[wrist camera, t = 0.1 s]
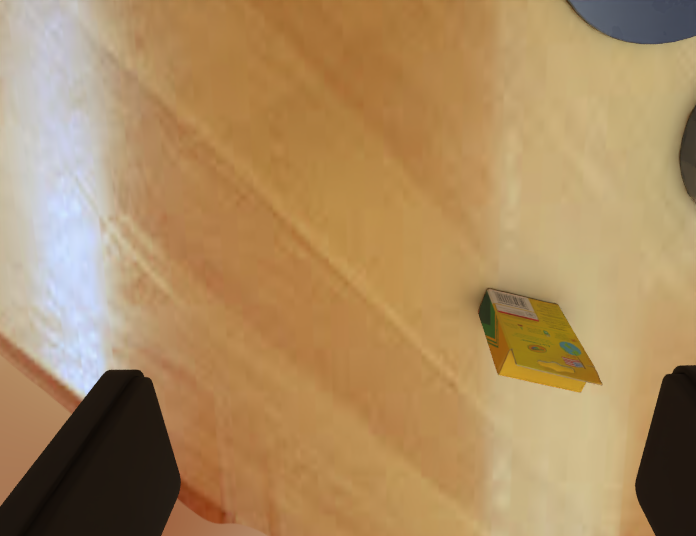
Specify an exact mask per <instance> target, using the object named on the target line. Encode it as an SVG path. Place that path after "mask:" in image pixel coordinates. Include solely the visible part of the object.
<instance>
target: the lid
mask: <svg viewBox="0 0 696 536" xmlns="http://www.w3.org/2000/svg"><path fill="white" fill-rule="evenodd" d="M567 1H568V2H569V3H570V5H571V6H572V7H573V9H574V10H575V11H576V13H577V14H578V15H579V16H580V17H581V18H582V19H584V20H585V21H586V22H587V23H588V24H589V25H591V26H592V27H594V28H595V29H596V30H598V31H600V32H602V33H604V34H606V35H608V36H610V37H612V38H615V39H619V40H622V41H625V42H632V43H639V44H662V43H669V42H675V41H679V40H683V39H687V38H691V37H693V36H696V0H567Z"/></svg>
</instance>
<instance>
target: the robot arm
mask: <svg viewBox="0 0 696 536" xmlns="http://www.w3.org/2000/svg"><path fill="white" fill-rule="evenodd" d="M180 484H181V479H180V474H179V470H178V467H177V463H176V460H175V457H174V453H173V450H172V447H171V443H170V440H169V436H168V433H167V430H166V426H165V423H164V420H163V416H162V413H161V409H160V406H159V403H158V399H157V396H156V393H155V389H154V386H153V383H152V380H151V379H150V378H148V377H144V375H143V373H142V372H141V371H140V370H108V371H106V372H105V373H104V374H103V375H102V376H101V377H100V379H99V380H98V381H97V383H96V384H95V385H94V387H93V388H92V389H91V390H90V392H89V393H88V394H87V396H86V397H85V398H84V399H83V401H82V402H81V403H80V405H79V406H78V407H77V408H76V410H75V411H74V412H73V414H72V415H71V416H70V417H69V419H68V420H67V421H66V423H65V424H64V425H63V426H62V428H61V429H60V430H59V432H58V433H57V434H56V435H55V437H54V438H53V439H52V441H51V442H50V444H48V446H47V447H46V448H45V450H44V451H43V452H42V454H41V455H40V456H39V457H38V459H37V460H36V461H35V462H34V464H33V465H32V466H31V468H30V469H29V470H28V471H27V473H26V474H25V475H24V477H23V478H22V479H21V481H20V482H19V483H18V484H17V486H16V487H15V488H14V490H13V491H12V492H11V493H10V495H9V496H8V498H7V499H6V500H5V501H4V502H3V504H2V505H1V506H0V536H161V535H162V532H163V530H164V527H165V525H166V523H167V521H168V518H169V516H170V513H171V511H172V509H173V507H174V504H175V502H176V500H177V497H178V494H179V491H180ZM635 489H636V495H637V498H638V501H639V504H640V506H641V508H642V510H643V512H644V514H645V516H646V518H647V520H648V522H649V524H650V525H651V527H652V529H653V531H654V533H655V535H656V536H696V365H685V366H677V367H676V368H675V369H674V370H673V373H672V374H667V375H666V376H665V377H664V378H663V381H662V384H661V388H660V392H659V395H658V399H657V403H656V407H655V410H654V414H653V418H652V422H651V425H650V429H649V433H648V437H647V440H646V444H645V448H644V452H643V455H642V459H641V463H640V467H639V470H638V474H637V478H636V483H635Z"/></svg>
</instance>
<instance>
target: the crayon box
mask: <svg viewBox="0 0 696 536" xmlns="http://www.w3.org/2000/svg"><path fill="white" fill-rule="evenodd" d="M478 314H479V317H480V320H481V323H482V326H483V329H484V332H485V336H486V339H487V342H488V345H489V348H490V351H491V355H492V358H493V361H494V364H495V367H496V370H497V373H498V375H502V376H507V377H511V378H516V379H520V380H525V381H529V382H534V383H538V384H543V385H547V386H552V387H557V388H562V389H566V390H571V391H575V392H581V391H582V389H583V387H584V385H585V384H586V382H588V383H593V384H598V385H602V382H601V380H600V378H599V376H598V373H597V371H596V370H595V367H594V365H593V364H592V362H591V360H590V358H589V357H588V355H587V353H586V352H585V350H584V348H583V346H582V345H581V343H580V341H579V340H578V338H577V336H576V335H575V333H574V331H573V330H572V328H571V326H570V325H569V323H568V321H567V319H566V318H565V316H564V314H563V312H562V311H561V309H560V307H559V306H558V304H554V303H553V304H551V303H547V302H543V301H539V300H535V299H531V298H527V297H522V296H518V295H514V294H510V293H505V292H500V291H496V290H493V289H490V288H489V289H488V290H487V291H486V294H485V296H484V299H483V301H482V303H481V306H480V309H479V310H478Z"/></svg>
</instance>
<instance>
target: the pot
mask: <svg viewBox="0 0 696 536" xmlns="http://www.w3.org/2000/svg"><path fill="white" fill-rule="evenodd" d="M680 166H681V173H682V178H683V181H684V184H685V187H686V189H687V191H688V194H689V196H690V197H691V198H692V199H693V201H694V202H695V203H696V106H695V108H694V109H693V111H692V113H691V116H690V118H689V120H688V123H687V125H686V128H685V132H684V135H683V138H682V144H681V151H680Z"/></svg>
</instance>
